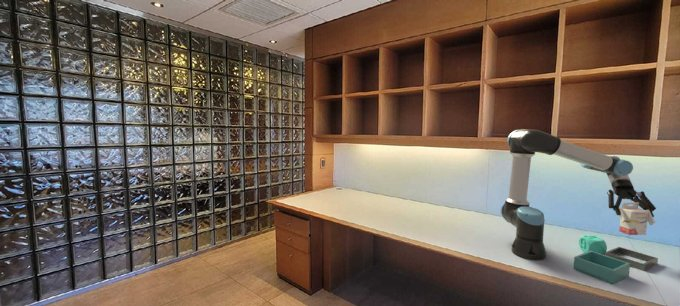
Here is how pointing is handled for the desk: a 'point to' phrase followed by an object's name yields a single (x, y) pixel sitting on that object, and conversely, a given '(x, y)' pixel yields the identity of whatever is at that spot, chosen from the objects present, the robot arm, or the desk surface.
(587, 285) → the desk surface
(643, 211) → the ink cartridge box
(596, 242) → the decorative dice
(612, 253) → the socket collar
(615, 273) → the teal bin
